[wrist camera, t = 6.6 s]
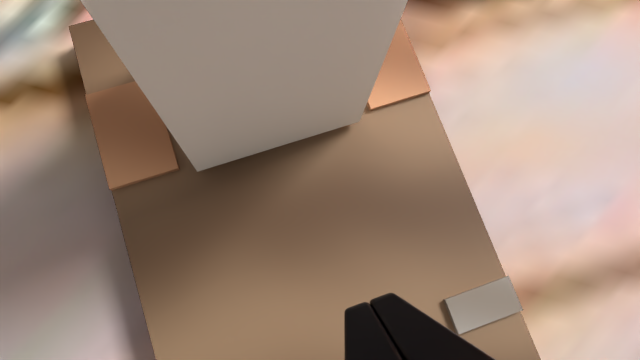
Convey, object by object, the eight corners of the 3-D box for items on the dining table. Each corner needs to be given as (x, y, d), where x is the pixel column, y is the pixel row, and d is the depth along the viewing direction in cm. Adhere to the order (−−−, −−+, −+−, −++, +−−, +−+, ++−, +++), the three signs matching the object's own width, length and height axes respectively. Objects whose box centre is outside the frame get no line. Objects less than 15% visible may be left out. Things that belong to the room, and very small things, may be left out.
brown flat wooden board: (568, 462, 14) (592, 476, 13) (232, 608, 13) (226, 638, 12) (364, -33, 18) (369, -56, 17) (81, 42, 17) (65, 22, 15)
